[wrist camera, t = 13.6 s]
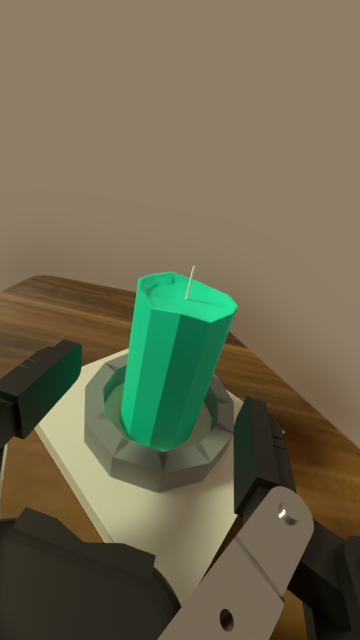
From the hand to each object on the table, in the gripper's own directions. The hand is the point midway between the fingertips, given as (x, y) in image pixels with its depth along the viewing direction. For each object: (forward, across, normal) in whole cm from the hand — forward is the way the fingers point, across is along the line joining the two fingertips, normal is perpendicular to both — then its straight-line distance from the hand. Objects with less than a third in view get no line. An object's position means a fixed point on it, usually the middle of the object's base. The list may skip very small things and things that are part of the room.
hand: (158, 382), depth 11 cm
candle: (+5, 0, +8) cm, 9 cm away
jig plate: (+5, 0, +9) cm, 10 cm away
